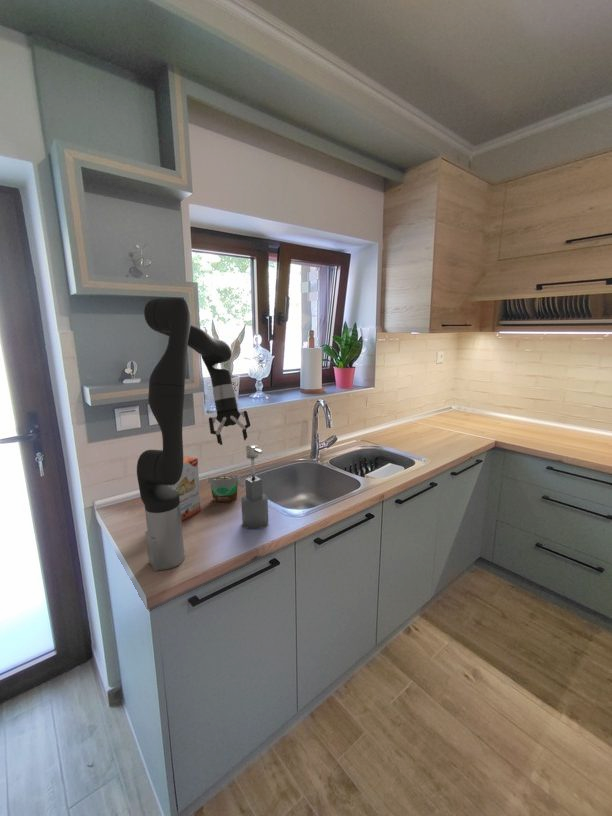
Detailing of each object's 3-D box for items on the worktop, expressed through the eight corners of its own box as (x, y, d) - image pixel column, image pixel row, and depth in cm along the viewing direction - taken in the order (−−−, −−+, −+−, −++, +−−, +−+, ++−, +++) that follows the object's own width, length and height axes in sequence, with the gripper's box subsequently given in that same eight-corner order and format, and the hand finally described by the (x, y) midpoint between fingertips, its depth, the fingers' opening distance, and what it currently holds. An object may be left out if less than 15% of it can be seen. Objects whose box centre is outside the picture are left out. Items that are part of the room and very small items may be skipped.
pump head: (256, 487, 118) (255, 451, 116) (245, 480, 124) (243, 446, 122) (267, 484, 121) (265, 449, 119) (255, 477, 126) (254, 444, 124)
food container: (209, 507, 139) (208, 482, 137) (209, 500, 144) (207, 476, 143) (242, 502, 142) (241, 478, 140) (240, 496, 148) (239, 472, 146)
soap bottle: (251, 532, 120) (249, 486, 117) (237, 521, 127) (235, 478, 124) (273, 523, 126) (272, 479, 123) (259, 513, 133) (257, 472, 130)
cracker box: (172, 528, 124) (166, 469, 120) (160, 523, 127) (154, 466, 123) (202, 510, 136) (198, 457, 132) (190, 507, 139) (186, 455, 135)
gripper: (203, 401, 126) (212, 447, 126) (244, 393, 128) (252, 439, 128) (206, 402, 134) (214, 445, 134) (244, 395, 136) (253, 438, 136)
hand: (233, 442), depth 131 cm, fingers open, 8 cm apart
